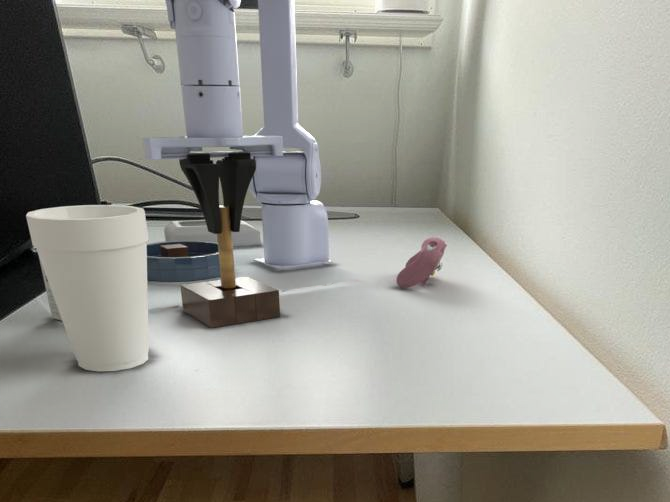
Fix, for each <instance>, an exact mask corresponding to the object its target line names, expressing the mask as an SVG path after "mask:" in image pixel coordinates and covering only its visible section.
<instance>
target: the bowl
mask: <svg viewBox="0 0 670 502" xmlns="http://www.w3.org/2000/svg"><path fill="white" fill-rule="evenodd" d="M172 244H182V245H184V246H186V247H188V255H189V257H162V255H161V248H160V246H162V245H172ZM217 277H221V275H220V264H219V253H218V243H217V242H209V241H167V242H166V241H158V242H150V243H147V281H155V282H193V281H202V280H209V279H214V278H217Z"/></svg>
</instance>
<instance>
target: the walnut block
mask: <svg viewBox="0 0 670 502" xmlns="http://www.w3.org/2000/svg"><path fill="white" fill-rule="evenodd" d="M160 248H161V255H162V257H189V255H188V247H186V246H184V245H182V244H172V245H162V246H160Z"/></svg>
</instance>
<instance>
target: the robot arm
mask: <svg viewBox="0 0 670 502" xmlns="http://www.w3.org/2000/svg"><path fill="white" fill-rule="evenodd" d="M164 1H165V4H166V11H167V19H168V22H169V27H170V29H171V30H174V33H175V43H176V51H177V52H176V53H177V61H178V69H179V70H178V71H179V79H180V86H181V87H180V88H181V96H182V97H181V99H182V106H183V116H184V125H185V133H186V135H185V136H182V135H181V136H154V137H153V136H150V137H148V136H147V137H142V138H141V139H142V146H143V155H144V159H145V160H149V161H162V160H178V162H179V167H180V170H181V172H182V173H183V174H184V176H185V178H186V179H187V181H188V183H189V184H190V186H191V188H192V190H193V193H194V195H195V197H196V199H197V202H198V204H199V207H200V209H201V212H202V215H203V218H204V220H205V221H206V225H207V228H208V232H211V233H214V234H220V233H221V215H220V187H221V193H222V201H223V205H225V206H229V208H230V221H231V231H232V232H240V222H241V220H242V214H243V209H244V204H245V200H246V197H247V193H248V190H249V192H250V194H251V195H252V196H253V198H255V199H256V202H257V203H260V209H261V225H262V226H261V227H262V241H263V242H262V243H263V257H259V258H254V259H253V261H254V262H257V263H260V264H263V265H265V266H268V267H270V268H273V269H275V270H282V269H283V270H284V269H291V268H298V267H305V266H313V265H323V264H324V265H332V263H333V262H332V260H330V242H329V241H330V240H329V238H330V236H329V235H330V234H329V215H328V213H327V209H326V207H325V206H324V204H323V203H322V202H321V201H319V200H316V199H317V197H318V196H319V195H320V192H321V186H322V166H321V161H320V152H319V144H318V142H317V140H316V139H315V137H314V136H313V135H311V134H310V133H309V132H308V131H306V130H305V129H304V128H303V127H302V126H301V125H300V124H299V108H298V76H297V75H298V73H297V71H298V70H297V41H296V39H297V38H296V10H295V0H257V10H258V26H259V27H258V29H259V46H260V67H261V69H260V70H261V87H262V89H261V90H262V108H263V109H262V110H263V126H262V127H261V128H260V129H259V130H258V131H257V132H256V133H255V134H254V135H244V126H243V125H244V124H243V111H242V98H241V97H242V96H241V84H240V70H239V69H240V68H239V56H238V55H239V54H238V42H237V40H238V39H237V27H236V14H235V13H236V12H235V9H238V8H240V7H241V1H242V0H164ZM203 148H229V149H230V150H232V151H203ZM284 149H298V150H300V151H284ZM233 150H235V151H233ZM213 158H221V159H217V160H216V162H215V163H214V160H213Z"/></svg>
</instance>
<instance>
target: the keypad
mask: <svg viewBox="0 0 670 502" xmlns="http://www.w3.org/2000/svg"><path fill="white" fill-rule="evenodd" d="M163 232H164V239H165V241H164V242H167V241H209V242H217V234H214V233H211V232H208V228H207V225H206V221H205V219H196V220H192V219H191V220H172V221H170V222H169V223H167V224H166V225H165V226H164V229H163ZM231 233H232V245H233V247H236V246H237V247H238V246H239V247H240V246H256V245H262V240H261V231H260V230H258V229H257V228H255V227H254V226H252V225H251V224H249V223H248V222H246V221H244V220H242V219H241V222H240V232H232V231H231Z"/></svg>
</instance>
